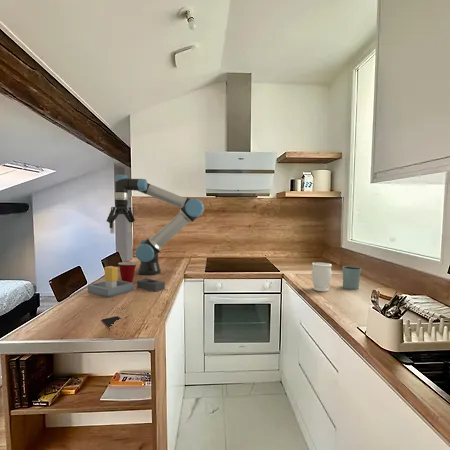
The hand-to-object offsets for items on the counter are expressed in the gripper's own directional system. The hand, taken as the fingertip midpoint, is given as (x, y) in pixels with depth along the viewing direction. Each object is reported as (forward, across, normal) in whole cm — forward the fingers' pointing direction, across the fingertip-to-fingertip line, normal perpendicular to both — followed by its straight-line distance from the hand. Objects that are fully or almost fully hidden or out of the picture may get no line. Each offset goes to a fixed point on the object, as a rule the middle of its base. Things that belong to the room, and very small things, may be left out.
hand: (121, 232), depth 185 cm
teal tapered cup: (+29, -58, +130) cm, 145 cm away
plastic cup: (+29, +7, +14) cm, 33 cm away
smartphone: (+29, +53, +60) cm, 85 cm away
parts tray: (+29, +25, +22) cm, 44 cm away
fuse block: (+29, +9, +35) cm, 46 cm away
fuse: (+28, +25, +22) cm, 43 cm away
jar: (+29, -43, +116) cm, 127 cm away
